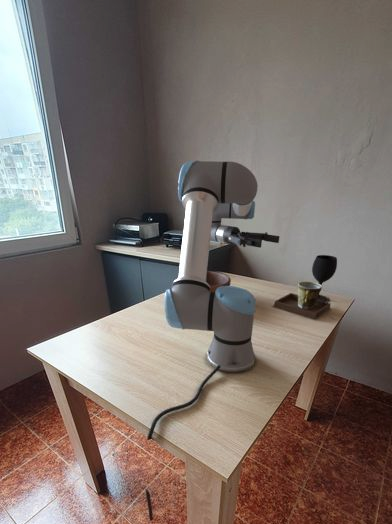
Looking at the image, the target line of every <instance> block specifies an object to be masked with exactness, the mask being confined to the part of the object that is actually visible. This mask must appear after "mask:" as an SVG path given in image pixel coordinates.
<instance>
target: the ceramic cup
mask: <svg viewBox="0 0 392 524" xmlns="http://www.w3.org/2000/svg"><path fill="white" fill-rule="evenodd" d="M322 285H323V284H322ZM322 285H320V284H319V282H314V281H301V282H298V284H297V295H298V306H299V307H300V308H303V309H312V308H313V306H314V304H315V301H316V299H317V297H318V295H320V294H321V291H322V288H323V286H322Z"/></svg>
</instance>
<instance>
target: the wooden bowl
mask: <svg viewBox="0 0 392 524" xmlns="http://www.w3.org/2000/svg"><path fill="white" fill-rule="evenodd" d="M176 279H178V277H177V278H176ZM206 282H207V283H208V284H209V286H210V292H215V291H216V289H217V288H218V287H221V286H231V283H232V280H231V278H230V276H229V275H227V274H225V273H222V272H218V271H211V270H207V275H206Z"/></svg>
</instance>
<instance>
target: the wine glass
mask: <svg viewBox="0 0 392 524" xmlns="http://www.w3.org/2000/svg"><path fill="white" fill-rule="evenodd" d="M337 266H338V258H337V257H336V256H334V255H329V254H328V255H327V254H320V255H316V257H315V258H314V261H313V263H312V267H311V273H312V276H313V278H314V279H315V280H316V281H317V283H318V284H320V285H323V283H325V282H327V281H329V280H330V279H332V278H333V277H334V275H335V274H336V271H337V268H338V267H337ZM316 300H319V301H323V302H327V303H328V301H329V298H328V297H327V296H326V295H322V294H319V295H318V297H317V299H316Z"/></svg>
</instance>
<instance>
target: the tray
mask: <svg viewBox="0 0 392 524" xmlns="http://www.w3.org/2000/svg"><path fill="white" fill-rule="evenodd" d="M273 308H276V309H279V310H282V311H285V312H289V313H291V314H295V315H298V316H301V317H304V318H307V319H311V320H314V321H315V320H317V319H318V318H319V317H321V316H322V315H324V314H325V313H327V312H328V311H330V309H331V303H330V302H328V301H327V302H323V301H319V300H316V301H315V304H314V306H313V308H312V309H303V308H300V307H299V306H298V293H297V294H296V293H293V292H290V293H288V294H285V295H284V296H282V297H280V298H278V299H275V301H274V302H273Z"/></svg>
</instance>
